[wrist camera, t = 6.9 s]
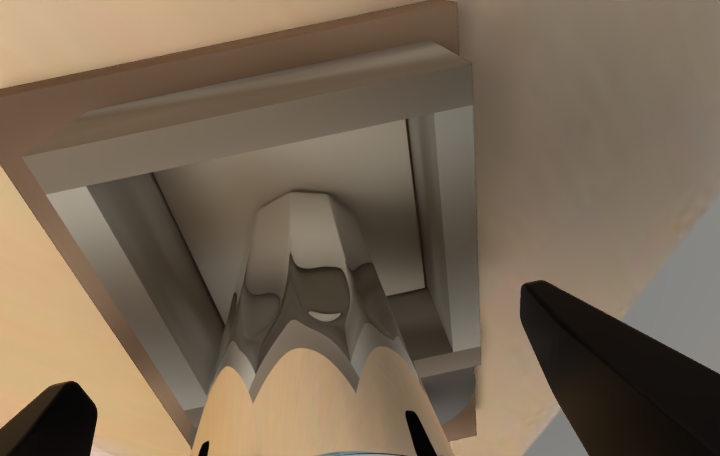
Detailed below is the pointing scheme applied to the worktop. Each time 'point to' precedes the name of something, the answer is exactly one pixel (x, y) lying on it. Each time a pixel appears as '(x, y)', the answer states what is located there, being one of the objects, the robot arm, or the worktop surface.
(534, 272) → the worktop surface
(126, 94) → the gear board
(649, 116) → the worktop surface
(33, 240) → the worktop surface
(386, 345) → the milkshake
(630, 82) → the worktop surface
